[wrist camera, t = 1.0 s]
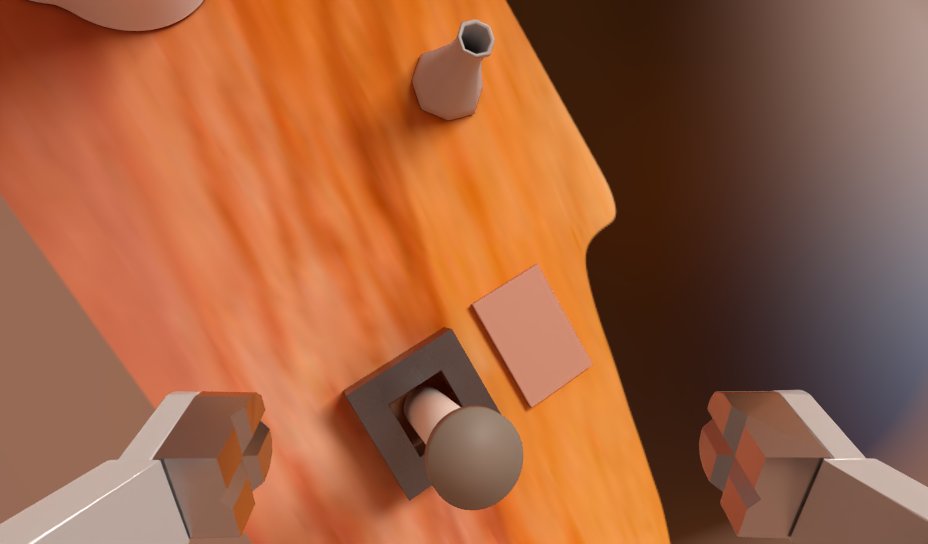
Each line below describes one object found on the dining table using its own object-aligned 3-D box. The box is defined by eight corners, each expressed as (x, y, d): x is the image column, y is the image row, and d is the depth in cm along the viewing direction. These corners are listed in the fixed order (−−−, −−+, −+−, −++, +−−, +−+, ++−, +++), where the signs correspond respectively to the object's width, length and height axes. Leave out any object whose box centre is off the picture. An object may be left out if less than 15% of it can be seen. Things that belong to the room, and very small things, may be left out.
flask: (482, 124, 54) (518, 85, 44) (411, 118, 52) (433, 77, 42) (481, 54, 54) (517, 1, 44) (410, 46, 52) (432, -12, 42)
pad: (471, 304, 52) (472, 304, 52) (535, 264, 54) (537, 264, 54) (529, 406, 54) (531, 407, 53) (590, 363, 56) (593, 364, 55)
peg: (378, 397, 50) (409, 446, 33) (435, 360, 51) (493, 389, 35) (412, 454, 50) (460, 530, 34) (468, 415, 52) (540, 470, 35)
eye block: (344, 390, 49) (345, 395, 46) (444, 327, 52) (451, 329, 49) (403, 489, 50) (409, 500, 47) (498, 422, 53) (509, 429, 50)
